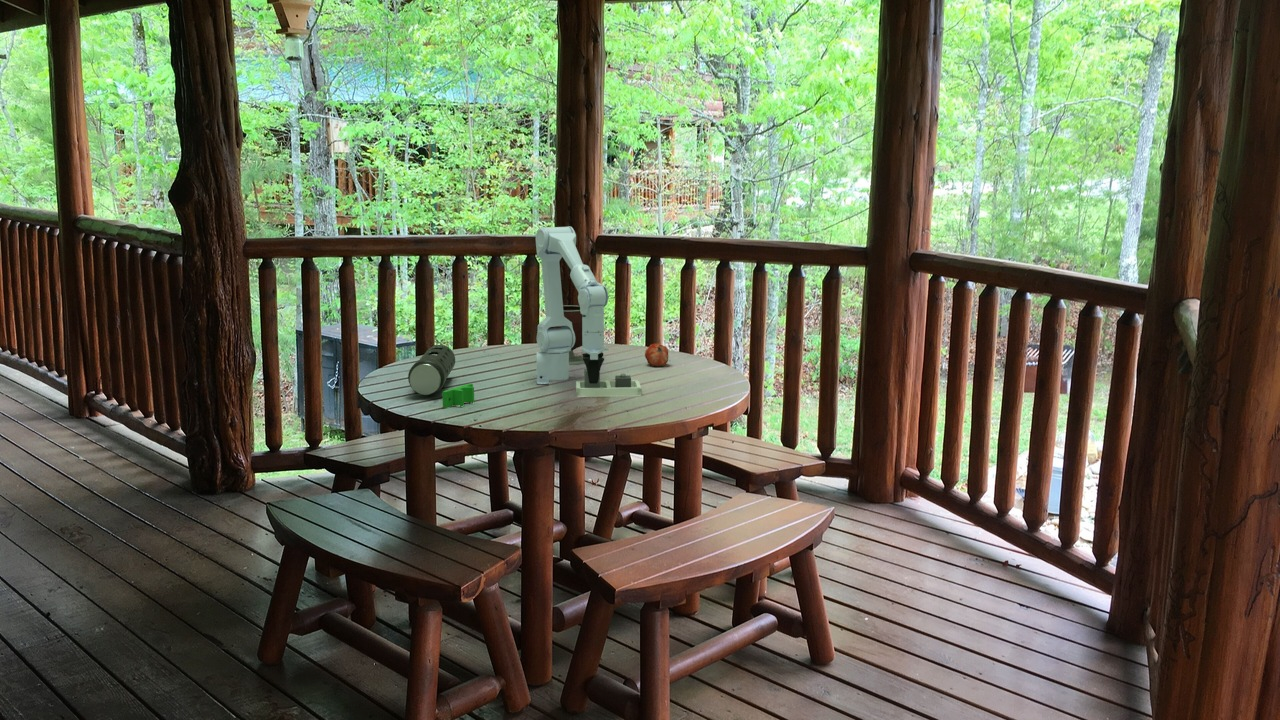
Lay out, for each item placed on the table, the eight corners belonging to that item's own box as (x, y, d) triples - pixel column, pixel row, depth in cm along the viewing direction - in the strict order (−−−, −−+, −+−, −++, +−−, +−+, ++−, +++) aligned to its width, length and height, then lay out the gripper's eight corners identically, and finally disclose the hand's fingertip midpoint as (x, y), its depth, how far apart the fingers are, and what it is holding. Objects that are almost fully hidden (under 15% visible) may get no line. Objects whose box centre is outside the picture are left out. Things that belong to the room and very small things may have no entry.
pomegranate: (642, 371, 305) (645, 357, 296) (644, 351, 309) (647, 336, 300) (665, 374, 306) (669, 359, 297) (667, 353, 309) (671, 338, 300)
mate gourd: (578, 355, 319) (577, 295, 315) (598, 362, 307) (598, 300, 303) (535, 360, 311) (534, 298, 307) (554, 367, 299) (553, 303, 295)
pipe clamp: (454, 410, 245) (454, 393, 244) (442, 409, 246) (442, 391, 245) (481, 401, 254) (480, 384, 253) (469, 400, 256) (469, 382, 255)
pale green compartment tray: (576, 401, 255) (576, 389, 254) (576, 391, 265) (576, 380, 265) (641, 400, 256) (641, 388, 255) (638, 391, 267) (638, 379, 266)
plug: (616, 393, 259) (616, 375, 258) (615, 390, 263) (615, 372, 262) (631, 393, 259) (631, 375, 258) (630, 389, 263) (630, 372, 262)
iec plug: (584, 390, 258) (584, 366, 257) (584, 387, 262) (584, 363, 261) (599, 390, 258) (599, 366, 257) (599, 387, 262) (599, 363, 261)
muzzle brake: (457, 378, 283) (455, 343, 281) (444, 400, 255) (442, 361, 253) (423, 378, 282) (422, 343, 280) (407, 400, 255) (405, 362, 253)
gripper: (609, 335, 250) (609, 387, 253) (607, 326, 265) (607, 375, 267) (582, 335, 250) (582, 387, 252) (581, 327, 264) (581, 376, 267)
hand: (593, 381), depth 260 cm, fingers closed on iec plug, 4 cm apart
